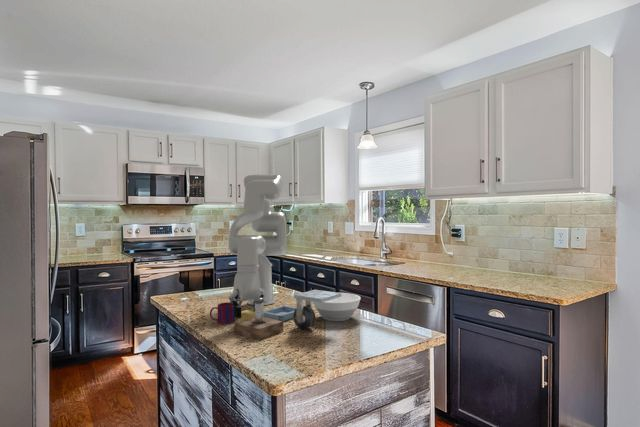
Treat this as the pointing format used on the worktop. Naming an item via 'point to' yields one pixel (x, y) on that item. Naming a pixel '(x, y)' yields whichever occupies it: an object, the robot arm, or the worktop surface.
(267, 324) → the socket block
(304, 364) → the worktop surface
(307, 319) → the caster wheel
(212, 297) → the worktop surface
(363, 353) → the worktop surface
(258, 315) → the pin
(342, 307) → the bowl
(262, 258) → the robot arm
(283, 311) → the tray
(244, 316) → the block
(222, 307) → the mug
